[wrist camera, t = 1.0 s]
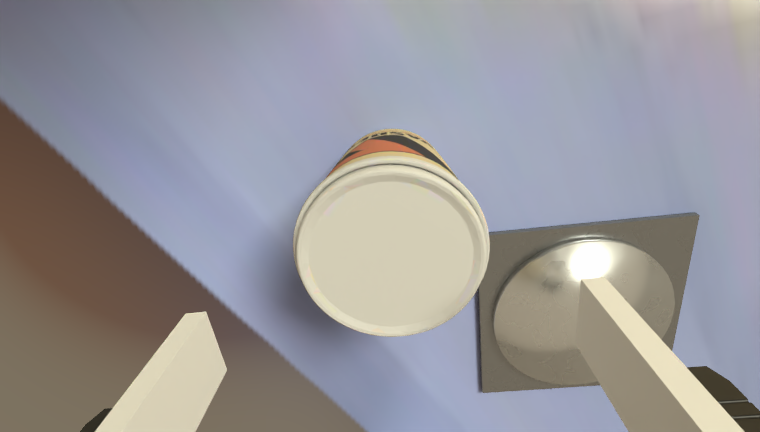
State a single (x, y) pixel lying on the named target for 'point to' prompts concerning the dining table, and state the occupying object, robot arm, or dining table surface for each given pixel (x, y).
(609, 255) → the flange plate
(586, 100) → the dining table surface
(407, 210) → the coffee cup
